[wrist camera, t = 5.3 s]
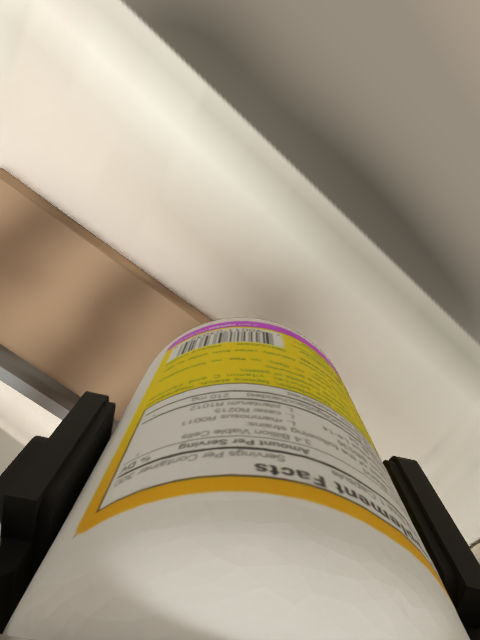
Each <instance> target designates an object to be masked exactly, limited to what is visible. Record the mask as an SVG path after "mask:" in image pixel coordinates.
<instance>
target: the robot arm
mask: <svg viewBox="0 0 480 640" xmlns="http://www.w3.org/2000/svg"><path fill="white" fill-rule="evenodd" d="M115 408H116V403H113V402H109V396H108V395H103V394H98V393H94V392H89V391H86V392H85V393H84V394H83V395H82V396H81V398H80V399H79V400H78V402H77V403H76V404H75V405H74V407H73V408H72V409H71V410H70V412H69V413H68V414H67V416H66V417H65V418H64V419H63V421H62V422H61V423H60V424H59V426H58V427H57V428H56V430H55V431H54V432H53V433H52V435H51V436H50V437H49V438H46V437H41V436H35V437H34V438H32V439H31V440H30V442H29V443H28V444H27V445H26V446H25V447H24V449H23V450H22V451H21V452H20V453H19V454H18V456H17V457H16V458H15V459H14V460H13V461H12V463H11V464H10V465H9V466H8V467H7V469H6V470H5V471H4V472H3V473H2V474H1V476H0V640H33V639H27V638H21V637H15V636H9V635H3V631H4V630H5V628H6V626H7V624H8V622H9V620H10V618H11V617H12V615H13V613H14V611H15V609H16V608H17V606H18V604H19V602H20V600H21V599H22V597H23V595H24V593H25V591H26V590H27V588H28V586H29V584H30V583H31V581H32V579H33V577H34V575H35V574H36V572H37V570H38V568H39V567H40V565H41V563H42V561H43V560H44V558H45V556H46V554H47V553H48V551H49V549H50V547H51V546H52V544H53V542H54V540H55V539H56V537H57V535H58V533H59V531H60V530H61V528H62V526H63V524H64V522H65V520H66V519H67V517H68V515H69V513H70V511H71V509H72V508H73V506H74V504H75V502H76V500H77V498H78V497H79V495H80V493H81V491H82V489H83V487H84V486H85V484H86V482H87V480H88V478H89V476H90V475H91V473H92V471H93V469H94V467H95V465H96V464H97V462H98V460H99V458H100V456H101V454H102V453H103V451H104V449H105V447H106V445H107V443H108V442H109V440H110V438H111V433H112V427H113V421H114V415H115ZM382 463H383V465H384V466H385V468H386V470H387V472H388V474H389V476H390V478H391V480H392V483H393V485H394V487H395V489H396V491H397V493H398V495H399V497H400V499H401V501H402V503H403V505H404V507H405V509H406V511H407V513H408V515H409V517H410V519H411V521H412V524H413V525H414V527H415V529H416V531H417V533H418V535H419V537H420V539H421V541H422V543H423V545H424V547H425V549H426V551H427V553H428V555H429V557H430V559H431V561H432V563H433V564H434V566H435V568H436V570H437V572H438V574H439V576H440V579H441V581H442V583H443V585H444V587H445V589H446V591H447V593H448V595H449V597H450V599H451V601H452V603H453V605H454V607H455V609H456V612H457V614H458V616H459V618H460V620H461V622H462V624H463V626H464V628H465V630H466V632H467V634H468V636H469V638H470V640H480V543H478V544H477V545H475V546H474V547H473V548H471V549H470V548H469V546H468V544H467V543H466V541H465V539H464V538H463V536H462V534H461V533H460V531H459V530H458V528H457V526H456V525H455V523H454V521H453V520H452V518H451V516H450V515H449V513H448V511H447V510H446V508H445V507H444V505H443V503H442V502H441V500H440V498H439V497H438V495H437V493H436V492H435V490H434V488H433V487H432V485H431V484H430V482H429V480H428V479H427V477H426V475H425V474H424V472H423V470H422V469H421V467H420V466H419V464H418V463H417V461H415V460H411V459H406V458H401V457H396V456H392V457H391V458H390V459H389V461H388V460H384V461H383V462H382Z"/></svg>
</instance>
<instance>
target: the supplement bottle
mask: <svg viewBox="0 0 480 640" xmlns="http://www.w3.org/2000/svg"><path fill="white" fill-rule="evenodd" d="M3 635H9V636H15V637H21V638H27V639H33V640H470V638H469V636H468V634H467V632H466V630H465V628H464V626H463V624H462V622H461V620H460V618H459V616H458V614H457V612H456V609H455V607H454V605H453V603H452V601H451V599H450V597H449V595H448V593H447V591H446V589H445V587H444V585H443V583H442V581H441V579H440V576H439V574H438V572H437V570H436V568H435V566H434V564H433V563H432V561H431V559H430V557H429V555H428V553H427V551H426V549H425V547H424V545H423V543H422V541H421V539H420V537H419V535H418V533H417V531H416V529H415V527H414V525H413V524H412V521H411V519H410V517H409V515H408V513H407V511H406V509H405V507H404V505H403V503H402V501H401V499H400V497H399V495H398V493H397V491H396V489H395V487H394V485H393V483H392V480H391V478H390V476H389V474H388V472H387V470H386V468H385V466H384V465H383V463H382V461H381V459H380V457H379V455H378V453H377V451H376V449H375V447H374V444H373V442H372V440H371V438H370V436H369V434H368V432H367V430H366V428H365V426H364V424H363V422H362V420H361V418H360V416H359V414H358V412H357V410H356V408H355V406H354V404H353V402H352V400H351V398H350V396H349V394H348V392H347V390H346V388H345V386H344V384H343V382H342V380H341V378H340V376H339V374H338V373H337V371H336V369H335V368H334V366H333V365H332V363H331V362H330V360H329V359H328V358H327V357H326V355H325V354H324V353H323V352H322V351H321V350H320V349H319V348H318V347H317V346H316V345H315V344H314V343H313V342H311V341H310V340H308V339H307V338H306V337H304V336H302V335H301V334H299V333H298V332H296V331H294V330H292V329H290V328H288V327H286V326H284V325H281V324H278V323H275V322H271V321H267V320H263V319H257V318H226V319H220V320H216V321H212V322H209V323H205V324H202V325H200V326H197V327H195V328H193V329H191V330H189V331H187V332H185V333H184V334H182V335H180V336H179V337H178V338H176V339H175V340H173V341H172V342H171V343H170V344H169V345H167V346H166V347H165V348H164V349H163V350H162V351H161V352H160V353H159V355H158V356H157V357H156V358H155V360H154V361H153V362H152V364H151V365H150V367H149V369H148V370H147V372H146V374H145V375H144V377H143V379H142V381H141V383H140V384H139V386H138V388H137V390H136V392H135V393H134V395H133V397H132V399H131V401H130V403H129V405H128V406H127V408H126V410H125V412H124V414H123V416H122V417H121V419H120V421H119V423H118V425H117V427H116V429H115V430H114V432H113V434H112V436H111V438H110V440H109V442H108V443H107V445H106V447H105V449H104V451H103V453H102V454H101V456H100V458H99V460H98V462H97V464H96V465H95V467H94V469H93V471H92V473H91V475H90V476H89V478H88V480H87V482H86V484H85V486H84V487H83V489H82V491H81V493H80V495H79V497H78V498H77V500H76V502H75V504H74V506H73V508H72V509H71V511H70V513H69V515H68V517H67V519H66V520H65V522H64V524H63V526H62V528H61V530H60V531H59V533H58V535H57V537H56V539H55V540H54V542H53V544H52V546H51V547H50V549H49V551H48V553H47V554H46V556H45V558H44V560H43V561H42V563H41V565H40V567H39V568H38V570H37V572H36V574H35V575H34V577H33V579H32V581H31V583H30V584H29V586H28V588H27V590H26V591H25V593H24V595H23V597H22V599H21V600H20V602H19V604H18V606H17V608H16V609H15V611H14V613H13V615H12V617H11V618H10V620H9V622H8V624H7V626H6V628H5V630H4V631H3Z"/></svg>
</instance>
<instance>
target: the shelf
mask: <svg viewBox="0 0 480 640" xmlns="http://www.w3.org/2000/svg"><path fill="white" fill-rule="evenodd" d="M209 322H212V320H210V319H209V318H208V317H206V316H205V315H204V314H202V313H201V312H199V311H198V310H197V309H195V308H194V307H192V306H191V305H190V304H188V303H187V302H186V301H184V300H183V299H181V298H180V297H179V296H177V295H176V294H175V293H173V292H172V291H170V290H169V289H168V288H166V287H165V286H164V285H162V284H161V283H159V282H158V281H157V280H155V279H154V278H152V277H151V276H150V275H148V274H147V273H146V272H144V271H143V270H141V269H140V268H139V267H137V266H136V265H135V264H133V263H132V262H130V261H129V260H128V259H126V258H125V257H123V256H122V255H121V254H119V253H118V252H117V251H115V250H114V249H112V248H111V247H110V246H108V245H107V244H106V243H104V242H103V241H101V240H100V239H99V238H97V237H96V236H95V235H93V234H92V233H90V232H89V231H88V230H86V229H85V228H83V227H82V226H81V225H79V224H78V223H77V222H75V221H74V220H72V219H71V218H70V217H68V216H67V215H66V214H64V213H63V212H61V211H60V210H59V209H57V208H56V207H55V206H53V205H52V204H50V203H49V202H48V201H46V200H45V199H43V198H42V197H41V196H39V195H38V194H37V193H35V192H34V191H32V190H31V189H30V188H28V187H27V186H26V185H24V184H23V183H21V182H20V181H19V180H17V179H16V178H14V177H13V176H12V175H10V174H9V173H8V172H6V171H5V170H3V169H2V168H0V380H1V381H3V382H4V383H6V384H7V385H9V386H10V387H12V388H13V389H15V390H17V391H18V392H20V393H21V394H23V395H24V396H26V397H27V398H29V399H31V400H32V401H34V402H35V403H37V404H38V405H40V406H41V407H43V408H45V409H46V410H48V411H49V412H51V413H52V414H54V415H55V416H57V417H59V418H60V419H62V420H63V419H64V418H65V417H66V416H67V414H68V413H69V412H70V410H71V409H72V408H73V407H74V405H75V404H76V403H77V402H78V400H79V399H80V398H81V396H82V395H83V394H84V393H85V392H86V391H89V392H94V393H98V394H103V395H108V396H109V402H113V403H116V408H115V415H114V421H113V427H112V433H111V436H112V434H113V432H114V430H115V429H116V427H117V425H118V423H119V421H120V419H121V417H122V416H123V414H124V412H125V410H126V408H127V406H128V405H129V403H130V401H131V399H132V397H133V395H134V393H135V392H136V390H137V388H138V386H139V384H140V383H141V381H142V379H143V377H144V375H145V374H146V372H147V370H148V369H149V367H150V365H151V364H152V362H153V361H154V360H155V358H156V357H157V356H158V355H159V353H160V352H161V351H162V350H163V349H164V348H165V347H166V346H167V345H169V344H170V343H171V342H172V341H173V340H175V339H176V338H178V337H179V336H180V335H182V334H184V333H185V332H187V331H189V330H191V329H193V328H195V327H197V326H200V325H202V324H205V323H209Z"/></svg>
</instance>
